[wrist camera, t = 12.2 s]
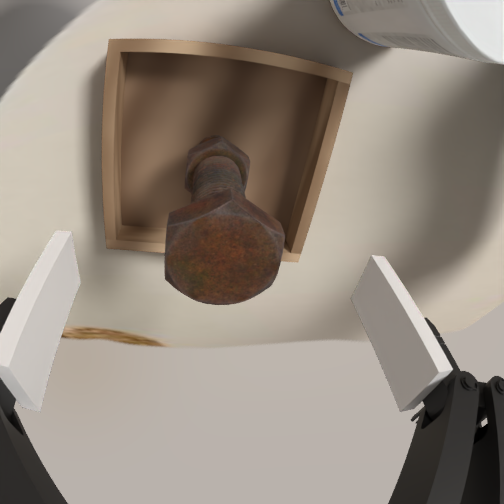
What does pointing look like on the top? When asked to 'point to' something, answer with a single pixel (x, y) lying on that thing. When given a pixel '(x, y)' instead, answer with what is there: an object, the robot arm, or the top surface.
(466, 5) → the supplement tub
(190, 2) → the top surface
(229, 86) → the tray
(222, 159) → the bolt
